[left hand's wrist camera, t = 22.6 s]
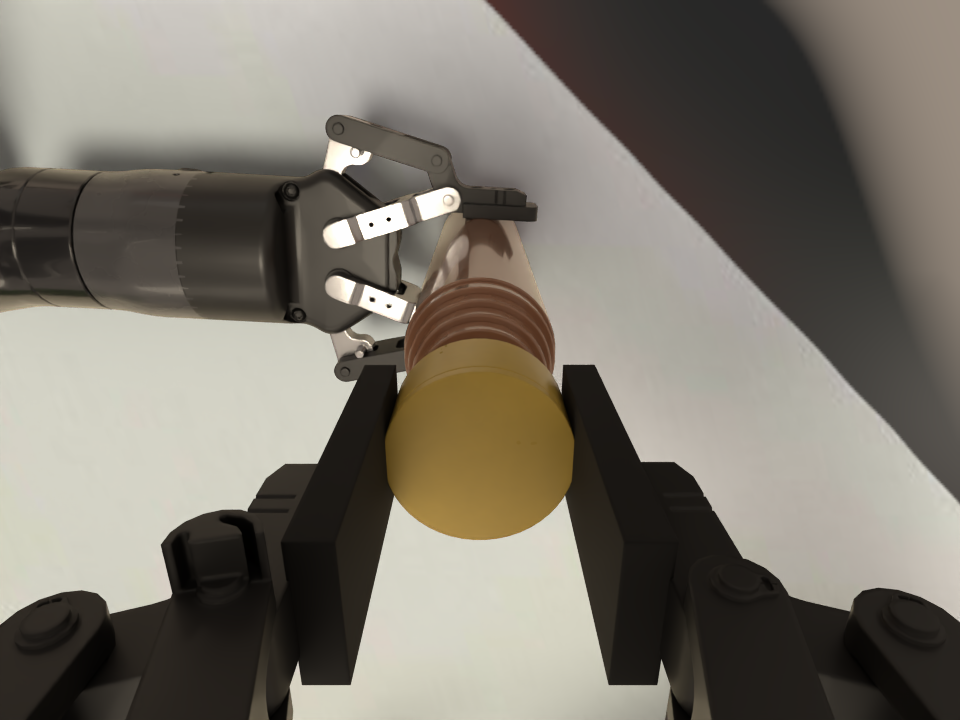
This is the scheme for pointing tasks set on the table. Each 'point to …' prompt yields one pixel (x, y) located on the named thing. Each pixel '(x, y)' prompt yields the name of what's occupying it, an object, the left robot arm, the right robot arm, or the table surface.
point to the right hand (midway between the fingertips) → (529, 264)
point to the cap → (479, 441)
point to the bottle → (479, 293)
